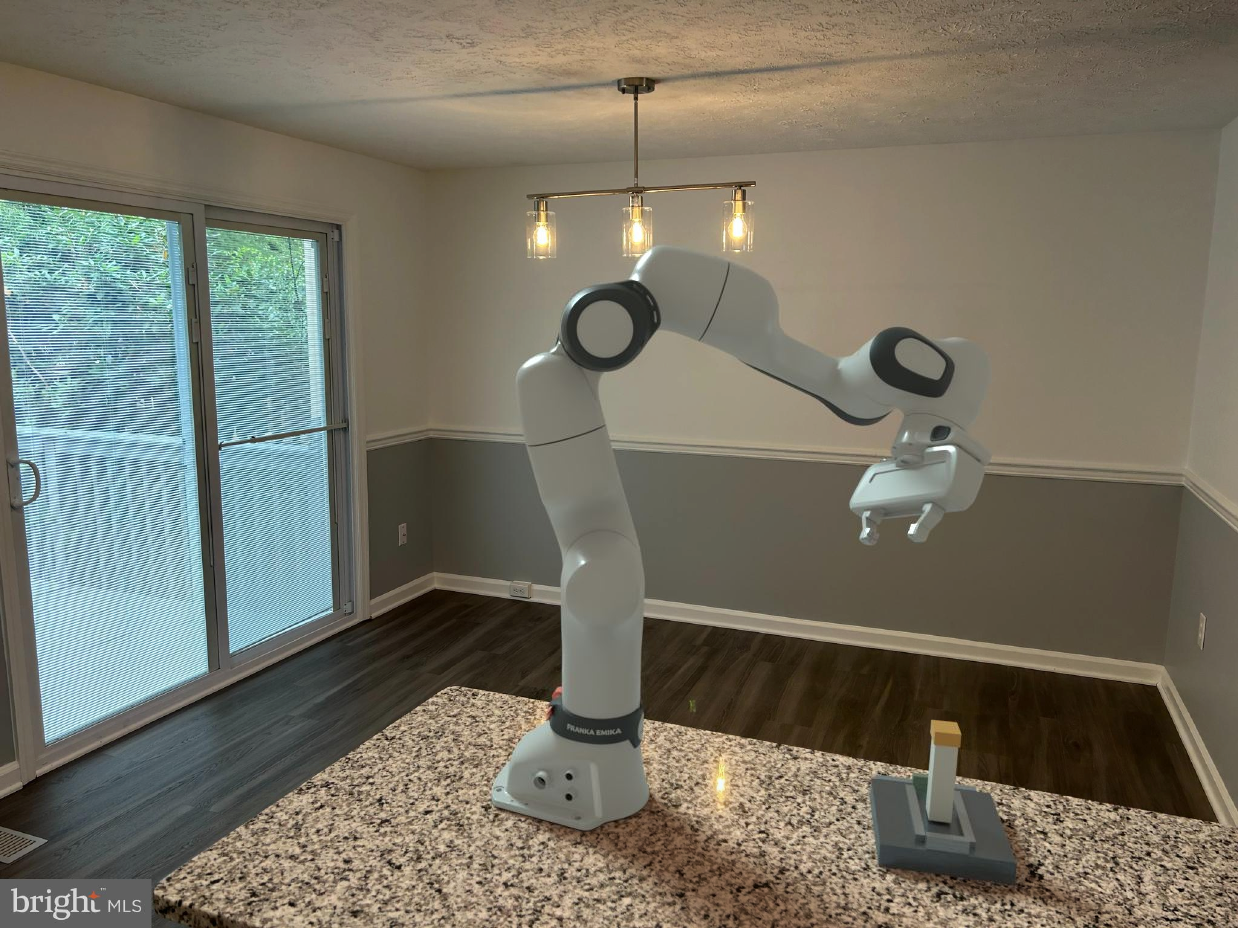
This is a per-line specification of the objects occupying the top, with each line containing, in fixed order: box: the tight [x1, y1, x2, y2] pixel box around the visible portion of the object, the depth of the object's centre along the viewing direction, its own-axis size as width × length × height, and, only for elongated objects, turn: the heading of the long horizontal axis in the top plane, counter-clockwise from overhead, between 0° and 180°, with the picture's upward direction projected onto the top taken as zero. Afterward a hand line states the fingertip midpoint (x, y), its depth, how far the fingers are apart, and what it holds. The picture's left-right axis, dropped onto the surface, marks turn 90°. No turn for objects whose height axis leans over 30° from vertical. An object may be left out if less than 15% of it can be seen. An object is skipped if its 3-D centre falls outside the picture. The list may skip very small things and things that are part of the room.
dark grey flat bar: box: [874, 774, 978, 791], centre depth 125 cm, size 14×4×1 cm, turn 78°
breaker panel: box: [869, 772, 1018, 886], centre depth 115 cm, size 16×16×5 cm
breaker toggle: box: [926, 719, 962, 823], centre depth 113 cm, size 3×3×12 cm
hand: (890, 541), depth 110 cm, fingers open, 8 cm apart
